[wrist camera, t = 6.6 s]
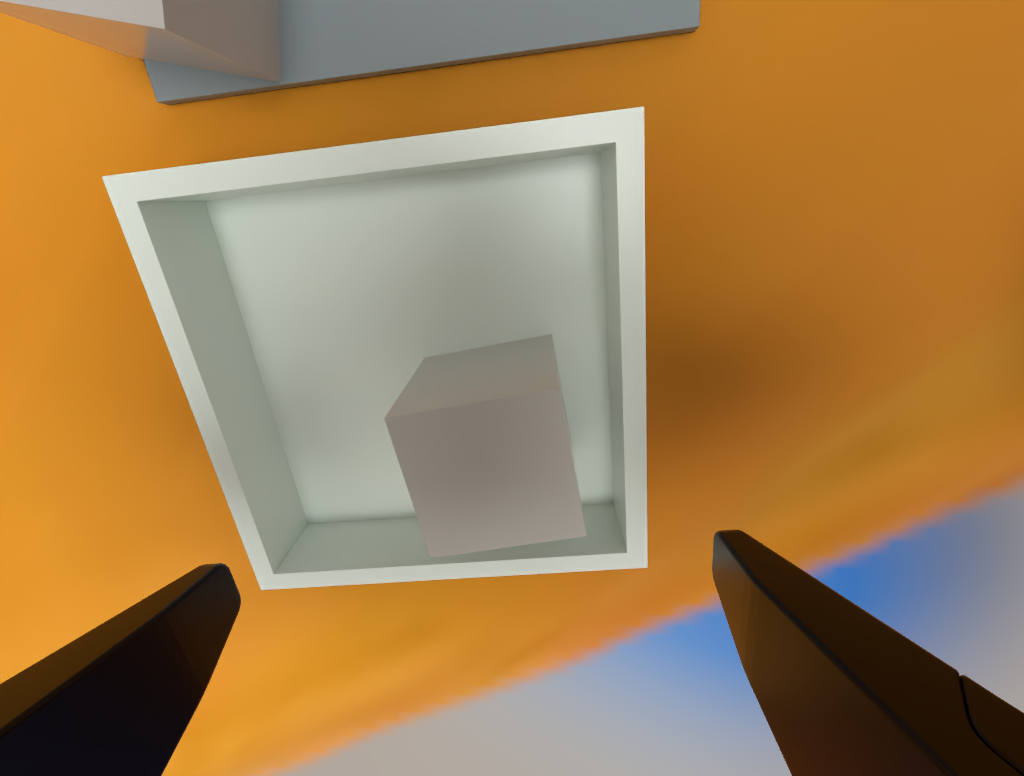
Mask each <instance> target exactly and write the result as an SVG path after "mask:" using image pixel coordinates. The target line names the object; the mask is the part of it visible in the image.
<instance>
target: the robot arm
mask: <svg viewBox="0 0 1024 776" xmlns="http://www.w3.org/2000/svg"><path fill="white" fill-rule="evenodd" d="M712 572H713V578H714V582H715V585H716V588H717V591H718V594H719V597H720V600H721V603H722V606H723V609H724V612H725V615H726V618H727V621H728V624H729V627H730V630H731V633H732V636H733V639H734V642H735V645H736V648H737V651H738V654H739V657H740V660H741V662H742V665H743V668H744V670H745V673H746V675H747V677H748V680H749V682H750V685H751V687H752V689H753V691H754V693H755V695H756V698H757V700H758V702H759V704H760V706H761V709H762V711H763V713H764V715H765V717H766V719H767V722H768V724H769V726H770V728H771V731H772V733H773V735H774V737H775V739H776V742H777V744H778V746H779V748H780V750H781V752H782V754H783V757H784V759H785V761H786V763H787V766H788V768H789V770H790V772H791V774H792V776H1024V713H1023V712H1021V711H1020V710H1018V709H1016V708H1015V707H1013V706H1012V705H1010V704H1008V703H1007V702H1005V701H1004V700H1002V699H1001V698H999V697H997V696H996V695H994V694H993V693H991V692H990V691H988V690H987V689H985V688H984V687H982V686H981V685H979V684H977V683H976V682H974V681H973V680H971V679H970V678H968V677H967V676H964V675H961V676H959V673H958V671H957V670H956V669H954V668H952V667H951V666H949V665H948V664H946V663H945V662H943V661H942V660H940V659H939V658H937V657H935V656H934V655H932V654H931V653H929V652H928V651H926V650H925V649H923V648H922V647H920V646H919V645H917V644H915V643H914V642H912V641H911V640H909V639H908V638H906V637H905V636H903V635H902V634H900V633H899V632H897V631H895V630H894V629H892V628H891V627H889V626H888V625H886V624H884V623H883V622H882V621H880V620H879V619H877V618H875V617H874V616H872V615H871V614H869V613H868V612H866V611H865V610H863V609H861V608H860V607H858V606H857V605H855V604H854V603H852V602H851V601H849V600H848V599H846V598H844V597H843V596H842V595H840V594H838V593H837V592H835V591H834V590H832V589H831V588H829V587H828V586H826V585H825V584H823V583H821V582H820V581H818V580H817V579H815V578H814V577H812V576H811V575H809V574H808V573H806V572H805V571H803V570H802V569H800V568H798V567H797V566H795V565H794V564H792V563H791V562H789V561H788V560H786V559H785V558H783V557H782V556H780V555H778V554H777V553H775V552H774V551H772V550H771V549H769V548H768V547H766V546H765V545H763V544H762V543H760V542H758V541H757V540H755V539H754V538H752V537H751V536H749V535H748V534H746V533H745V532H743V531H741V530H724V531H718V532H716V533H715V536H714V545H713V563H712ZM240 605H241V597H240V594H239V591H238V589H237V586H236V584H235V581H234V579H233V577H232V574H231V572H230V569H229V568H228V567H227V566H226V565H225V564H221V563H219V564H205V565H201V566H199V567H197V568H195V569H194V570H192V571H190V572H189V573H187V574H185V575H184V576H182V577H180V578H179V579H177V580H175V581H174V582H172V583H170V584H168V585H167V586H165V587H163V588H162V589H160V590H158V591H157V592H155V593H153V594H152V595H150V596H148V597H147V598H145V599H143V600H141V601H140V602H138V603H136V604H135V605H133V606H131V607H130V608H128V609H126V610H125V611H123V612H121V613H120V614H118V615H116V616H114V617H113V618H111V619H109V620H108V621H106V622H104V623H103V624H101V625H99V626H98V627H96V628H94V629H93V630H91V631H89V632H87V633H86V634H84V635H82V636H81V637H79V638H77V639H76V640H74V641H72V642H71V643H69V644H67V645H66V646H64V647H62V648H60V649H59V650H57V651H55V652H54V653H52V654H50V655H49V656H47V657H45V658H44V659H42V660H40V661H39V662H37V663H35V664H33V665H32V666H30V667H28V668H27V669H25V670H23V671H22V672H20V673H18V674H17V675H15V676H13V677H12V678H10V679H8V680H6V681H5V682H3V683H1V684H0V776H161V775H162V774H163V772H164V770H165V768H166V766H167V764H168V762H169V760H170V758H171V756H172V754H173V753H174V751H175V749H176V747H177V745H178V743H179V741H180V739H181V737H182V735H183V733H184V732H185V730H186V728H187V726H188V724H189V722H190V720H191V718H192V716H193V714H194V712H195V711H196V709H197V707H198V705H199V703H200V701H201V699H202V697H203V695H204V692H205V690H206V688H207V686H208V683H209V681H210V679H211V677H212V674H213V672H214V669H215V667H216V665H217V662H218V660H219V658H220V655H221V653H222V650H223V648H224V646H225V643H226V641H227V638H228V636H229V634H230V631H231V629H232V627H233V624H234V622H235V619H236V617H237V615H238V612H239V609H240Z"/></svg>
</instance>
